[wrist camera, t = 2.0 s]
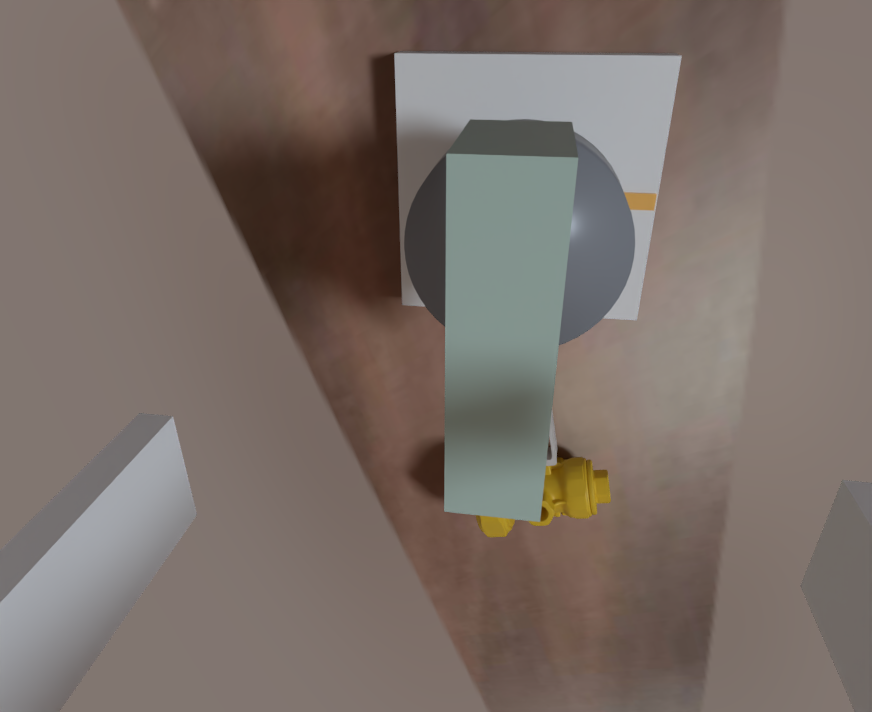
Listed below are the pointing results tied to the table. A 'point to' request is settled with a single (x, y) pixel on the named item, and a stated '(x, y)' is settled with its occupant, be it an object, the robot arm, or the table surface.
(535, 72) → the base
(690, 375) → the table surface
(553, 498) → the pressure relief valve
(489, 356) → the cap
